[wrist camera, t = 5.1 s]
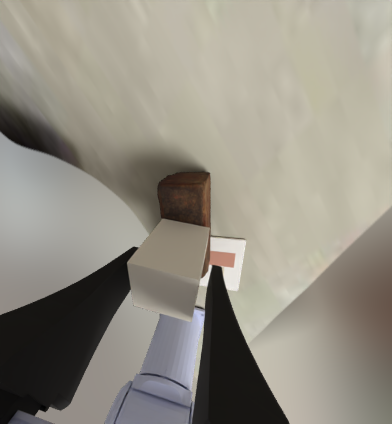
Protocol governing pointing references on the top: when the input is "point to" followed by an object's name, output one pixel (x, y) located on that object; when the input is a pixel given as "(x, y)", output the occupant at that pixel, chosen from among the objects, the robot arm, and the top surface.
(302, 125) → the top surface
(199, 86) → the top surface
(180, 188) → the brick
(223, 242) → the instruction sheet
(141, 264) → the cream block
